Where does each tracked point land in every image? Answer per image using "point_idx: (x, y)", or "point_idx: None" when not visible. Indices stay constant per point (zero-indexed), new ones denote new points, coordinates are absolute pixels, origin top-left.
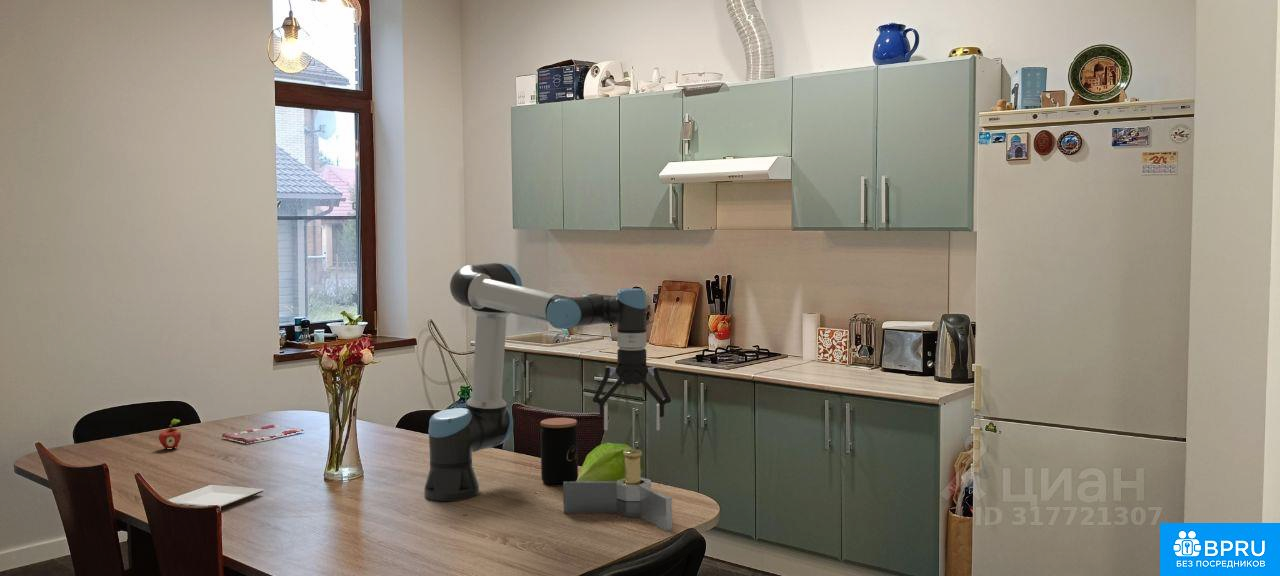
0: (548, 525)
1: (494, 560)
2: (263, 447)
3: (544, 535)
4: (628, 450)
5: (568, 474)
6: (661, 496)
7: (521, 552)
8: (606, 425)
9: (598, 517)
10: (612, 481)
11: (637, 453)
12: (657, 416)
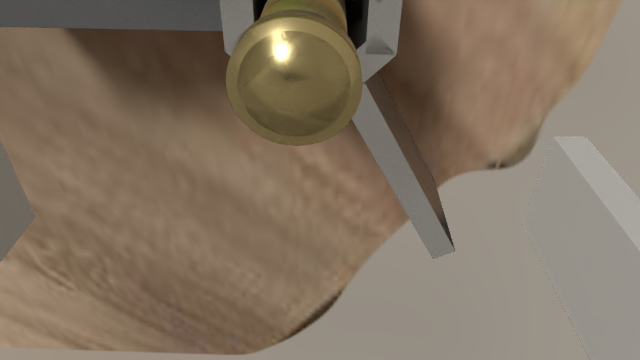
0: (42, 127)
1: (40, 331)
2: None
3: (73, 207)
4: (261, 48)
5: None
6: (420, 234)
7: (73, 300)
8: (5, 250)
9: (184, 46)
10: (195, 4)
11: (332, 135)
12: (595, 344)
